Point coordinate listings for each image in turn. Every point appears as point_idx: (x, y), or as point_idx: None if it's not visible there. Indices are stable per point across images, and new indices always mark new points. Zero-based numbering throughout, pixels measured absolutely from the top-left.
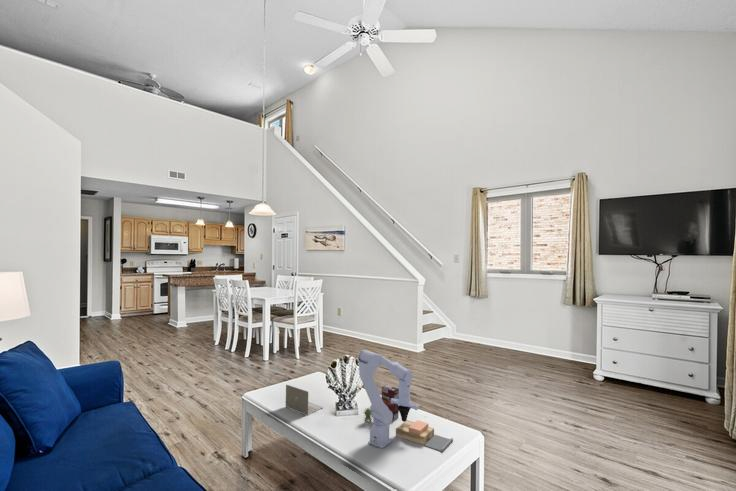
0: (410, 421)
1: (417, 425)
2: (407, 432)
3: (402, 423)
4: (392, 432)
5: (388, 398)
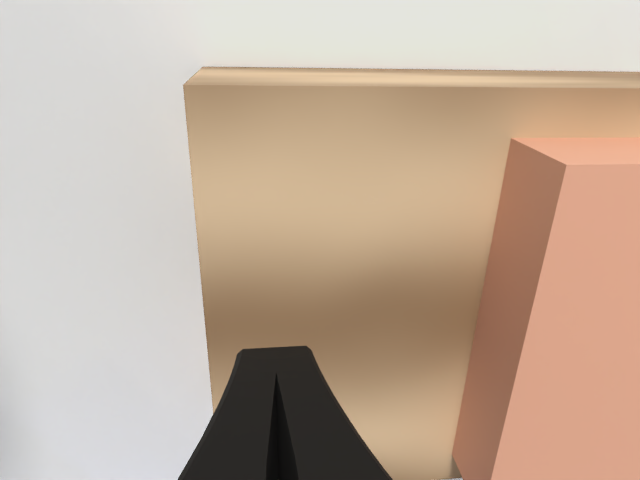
0: (304, 99)
1: (624, 387)
2: (441, 474)
3: (205, 299)
4: (130, 367)
5: None
